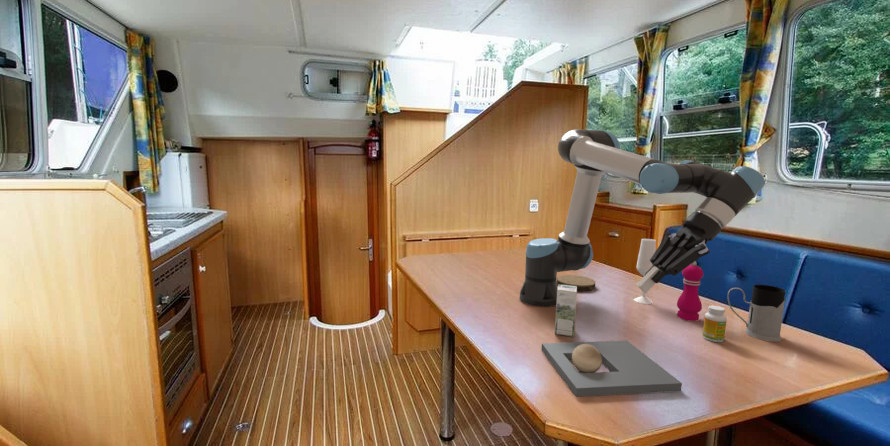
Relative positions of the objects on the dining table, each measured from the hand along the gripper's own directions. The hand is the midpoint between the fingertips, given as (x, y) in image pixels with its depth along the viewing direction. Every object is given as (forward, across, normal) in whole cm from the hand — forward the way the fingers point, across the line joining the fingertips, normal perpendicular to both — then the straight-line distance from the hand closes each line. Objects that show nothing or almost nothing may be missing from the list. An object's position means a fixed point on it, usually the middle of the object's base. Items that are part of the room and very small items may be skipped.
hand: (641, 288), depth 97 cm
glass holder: (-16, +11, -51) cm, 54 cm away
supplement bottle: (-6, +9, -39) cm, 40 cm away
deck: (+21, -3, -6) cm, 22 cm away
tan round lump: (+22, -4, 0) cm, 23 cm away
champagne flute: (-4, +42, -41) cm, 59 cm away
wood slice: (+8, +63, -30) cm, 70 cm away
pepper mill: (-8, +25, -44) cm, 51 cm away
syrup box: (+23, +19, -7) cm, 30 cm away
